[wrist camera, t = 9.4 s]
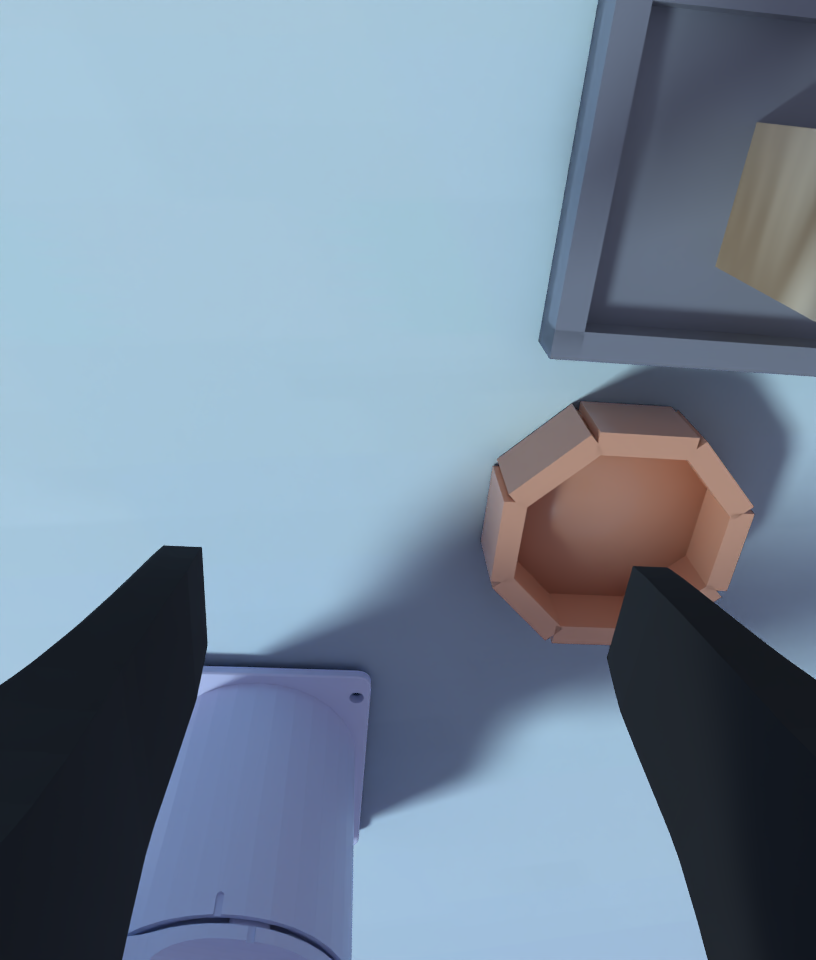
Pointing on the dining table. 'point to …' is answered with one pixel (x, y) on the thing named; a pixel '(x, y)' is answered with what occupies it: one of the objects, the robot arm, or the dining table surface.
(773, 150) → the beech peg
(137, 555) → the dining table surface
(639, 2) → the slate tray
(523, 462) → the terracotta octagonal bowl
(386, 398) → the dining table surface
